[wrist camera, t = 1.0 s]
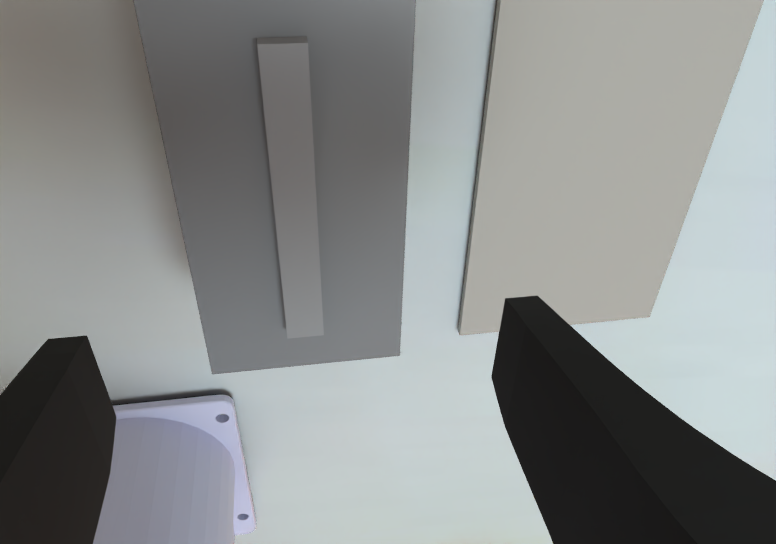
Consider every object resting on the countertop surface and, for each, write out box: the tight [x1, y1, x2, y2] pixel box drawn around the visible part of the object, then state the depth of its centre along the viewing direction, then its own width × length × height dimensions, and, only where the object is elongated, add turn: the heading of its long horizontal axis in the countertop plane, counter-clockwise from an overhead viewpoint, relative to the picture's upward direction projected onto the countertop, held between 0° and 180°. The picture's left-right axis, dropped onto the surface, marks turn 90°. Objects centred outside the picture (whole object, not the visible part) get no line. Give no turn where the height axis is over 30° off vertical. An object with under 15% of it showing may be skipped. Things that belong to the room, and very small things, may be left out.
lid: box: [133, 0, 416, 374], centre depth 16 cm, size 11×6×2 cm, turn 179°
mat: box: [458, 0, 764, 335], centre depth 21 cm, size 14×8×1 cm, turn 179°
